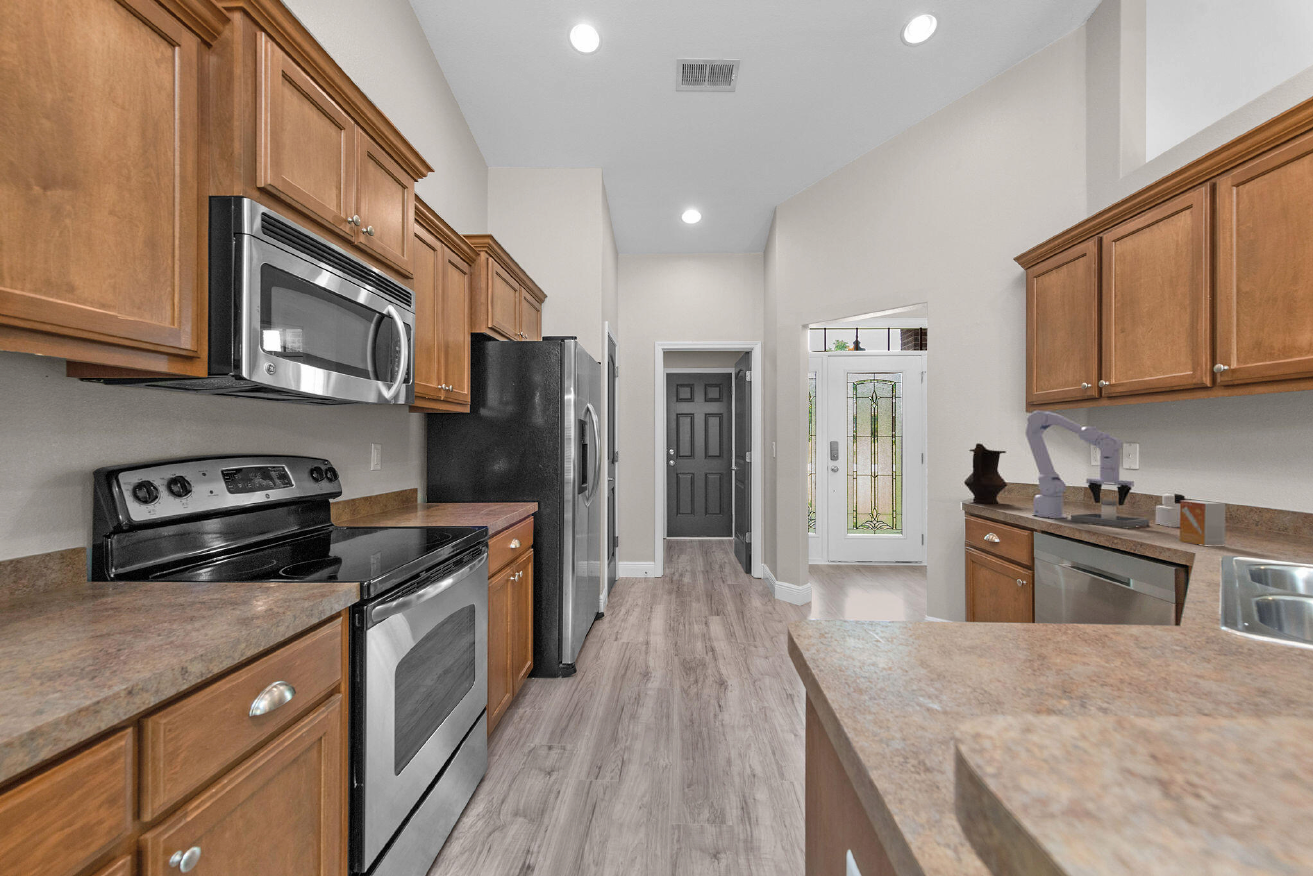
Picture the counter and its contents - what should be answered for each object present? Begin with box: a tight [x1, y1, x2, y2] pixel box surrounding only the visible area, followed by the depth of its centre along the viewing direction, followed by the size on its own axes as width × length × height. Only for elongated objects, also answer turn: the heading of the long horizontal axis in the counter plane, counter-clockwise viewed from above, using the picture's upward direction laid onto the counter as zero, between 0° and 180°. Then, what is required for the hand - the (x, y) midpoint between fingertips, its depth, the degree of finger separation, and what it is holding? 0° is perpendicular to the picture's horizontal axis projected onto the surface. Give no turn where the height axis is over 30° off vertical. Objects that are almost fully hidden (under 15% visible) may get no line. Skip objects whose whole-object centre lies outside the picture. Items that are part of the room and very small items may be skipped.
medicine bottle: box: [1155, 493, 1186, 528], centre depth 204 cm, size 7×7×12 cm
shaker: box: [1100, 499, 1118, 520], centre depth 208 cm, size 5×5×8 cm
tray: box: [1070, 512, 1150, 529], centre depth 208 cm, size 18×16×2 cm
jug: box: [963, 442, 1008, 505], centre depth 274 cm, size 21×18×30 cm
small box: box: [1179, 499, 1226, 545], centre depth 168 cm, size 8×6×13 cm
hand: (1109, 504), depth 208 cm, fingers open, 7 cm apart
